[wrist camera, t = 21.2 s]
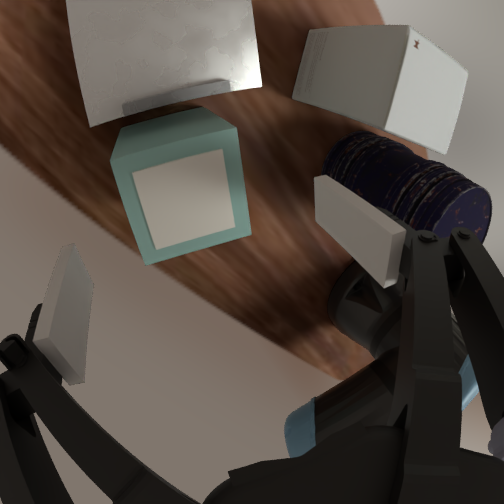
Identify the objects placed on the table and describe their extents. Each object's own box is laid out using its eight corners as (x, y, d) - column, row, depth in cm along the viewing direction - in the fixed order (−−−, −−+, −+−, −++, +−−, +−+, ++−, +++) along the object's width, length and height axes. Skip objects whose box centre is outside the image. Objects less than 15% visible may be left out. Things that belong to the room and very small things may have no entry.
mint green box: (216, 181, 28) (252, 236, 20) (141, 201, 27) (145, 267, 19) (203, 106, 24) (237, 128, 16) (121, 128, 23) (109, 161, 15)
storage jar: (324, 127, 28) (441, 186, 17) (396, 131, 31) (503, 183, 19) (315, 217, 34) (402, 305, 22) (382, 208, 37) (469, 278, 25)
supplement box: (288, 99, 26) (381, 130, 16) (308, 27, 22) (410, 20, 12) (351, 118, 29) (447, 159, 19) (369, 54, 25) (472, 70, 15)
